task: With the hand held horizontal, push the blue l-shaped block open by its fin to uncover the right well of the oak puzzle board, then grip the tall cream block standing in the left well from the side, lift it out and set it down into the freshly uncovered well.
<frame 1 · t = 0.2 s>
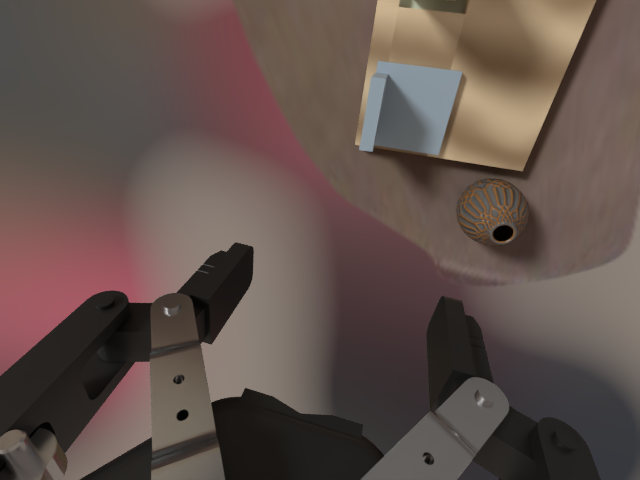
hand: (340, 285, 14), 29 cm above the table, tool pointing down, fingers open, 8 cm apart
puzzle board: (462, 53, 33), on the table
blue l-shaped block: (410, 115, 31), point 6 cm above the table, slide at 0.0 cm
vase: (483, 198, 40), on the table
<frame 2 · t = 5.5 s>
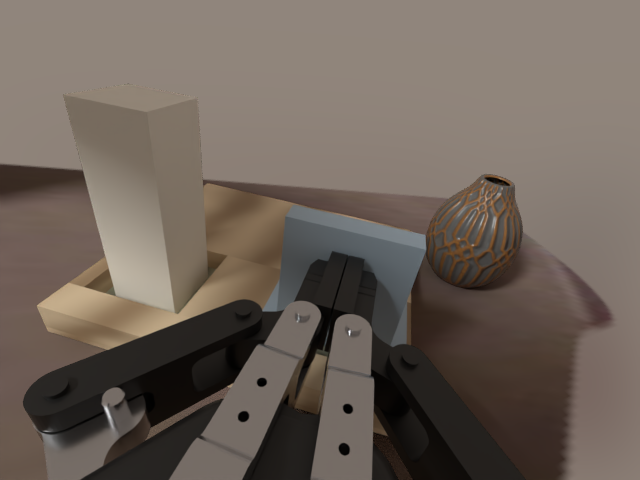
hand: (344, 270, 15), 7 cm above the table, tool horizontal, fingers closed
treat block: (165, 287, 22), resting on puzzle board
puzzle board: (271, 279, 25), on the table
blue l-shaped block: (351, 251, 19), point 6 cm above the table, slide at 1.4 cm, touching gripper
vase: (454, 274, 29), on the table
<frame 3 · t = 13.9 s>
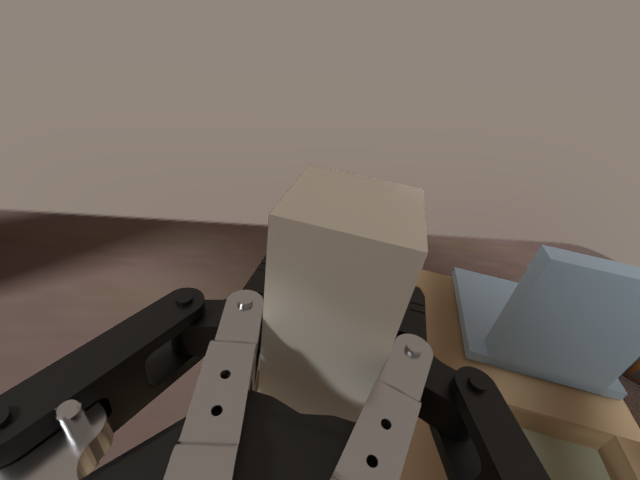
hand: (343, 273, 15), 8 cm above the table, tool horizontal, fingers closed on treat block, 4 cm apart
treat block: (309, 419, 16), point 1 cm above the table, touching gripper, puzzle board
puzzle board: (426, 389, 19), on the table
blue l-shaped block: (549, 283, 19), point 6 cm above the table, slide at 9.0 cm
when the fingers open (9 cm above the table, at t = 18.3 s): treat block drops 1 cm, resting on puzzle board.
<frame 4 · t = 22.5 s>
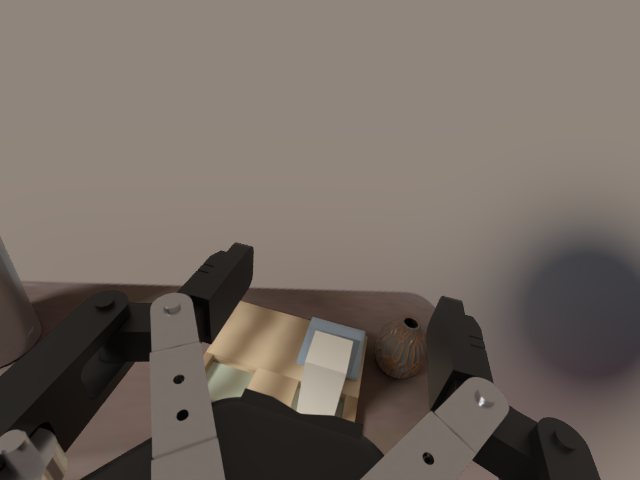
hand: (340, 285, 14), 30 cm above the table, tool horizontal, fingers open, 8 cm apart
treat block: (314, 417, 39), resting on puzzle board
puzzle board: (281, 377, 44), on the table
blue l-shaped block: (336, 329, 44), point 6 cm above the table, slide at 9.0 cm
vase: (393, 366, 48), on the table
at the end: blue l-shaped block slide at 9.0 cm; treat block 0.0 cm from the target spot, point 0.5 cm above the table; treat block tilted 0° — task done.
